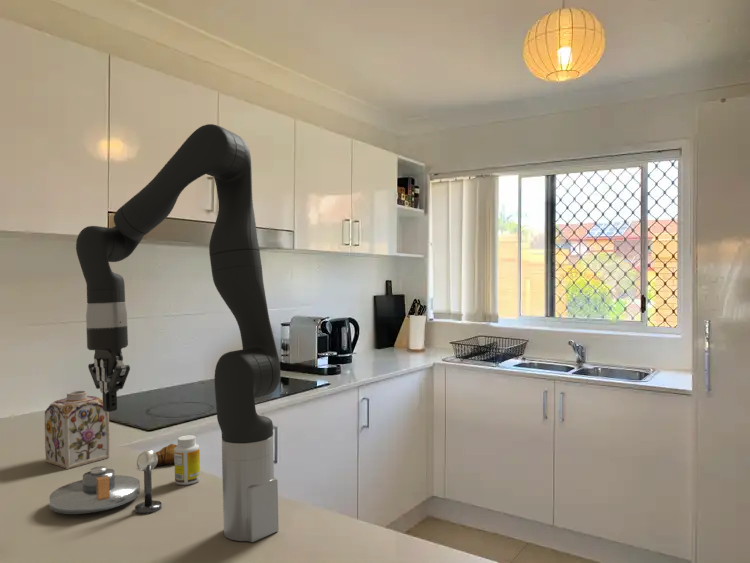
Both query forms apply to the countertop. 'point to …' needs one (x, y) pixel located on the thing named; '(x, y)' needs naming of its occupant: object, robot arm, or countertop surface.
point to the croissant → (166, 455)
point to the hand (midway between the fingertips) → (110, 410)
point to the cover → (96, 472)
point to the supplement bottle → (187, 460)
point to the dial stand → (147, 482)
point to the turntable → (94, 495)
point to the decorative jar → (76, 430)
